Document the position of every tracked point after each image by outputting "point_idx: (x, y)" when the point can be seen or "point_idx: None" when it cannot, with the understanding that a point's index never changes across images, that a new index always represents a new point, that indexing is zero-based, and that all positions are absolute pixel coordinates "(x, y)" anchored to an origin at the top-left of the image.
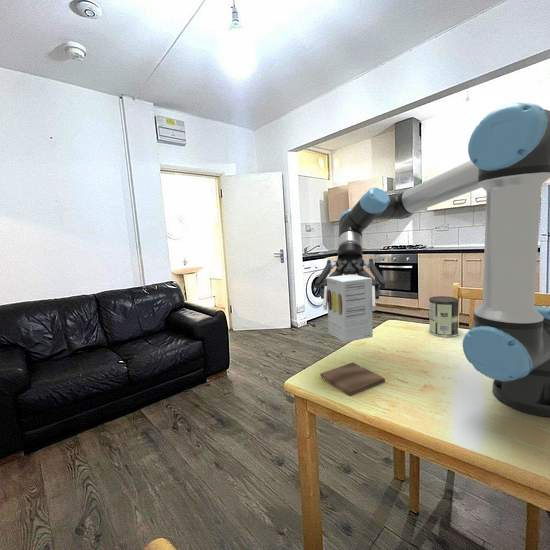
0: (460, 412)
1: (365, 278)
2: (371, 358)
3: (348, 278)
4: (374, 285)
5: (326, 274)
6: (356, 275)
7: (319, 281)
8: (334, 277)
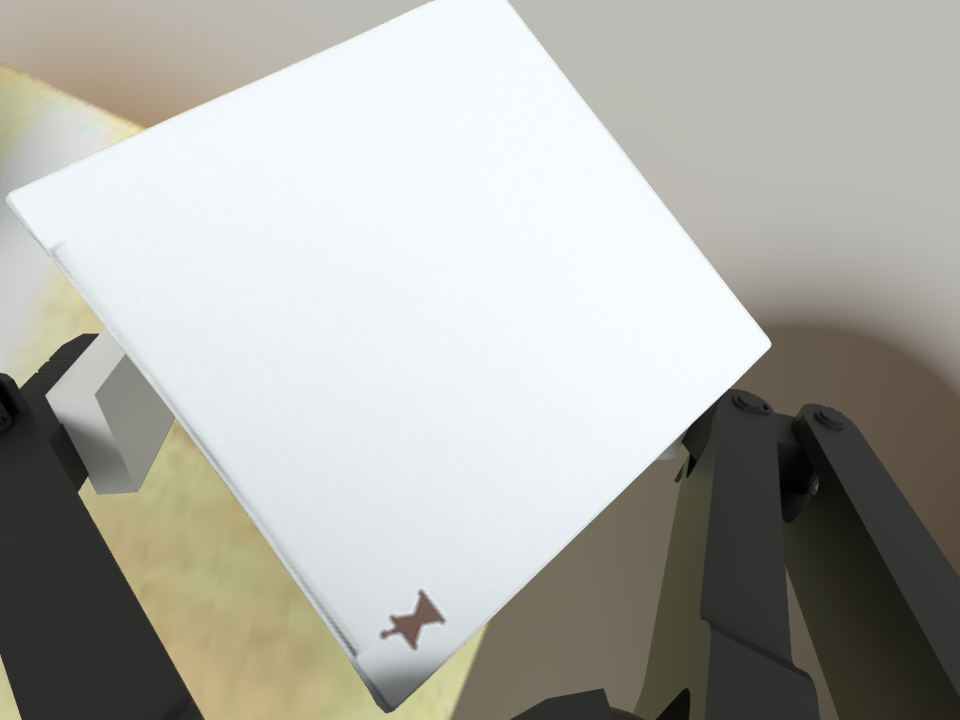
0: (31, 256)
1: (141, 166)
2: (308, 637)
3: (443, 169)
4: (44, 433)
5: (858, 624)
6: (315, 534)
7: (821, 433)
8: (666, 293)
